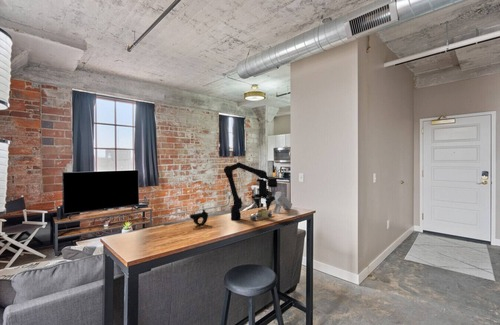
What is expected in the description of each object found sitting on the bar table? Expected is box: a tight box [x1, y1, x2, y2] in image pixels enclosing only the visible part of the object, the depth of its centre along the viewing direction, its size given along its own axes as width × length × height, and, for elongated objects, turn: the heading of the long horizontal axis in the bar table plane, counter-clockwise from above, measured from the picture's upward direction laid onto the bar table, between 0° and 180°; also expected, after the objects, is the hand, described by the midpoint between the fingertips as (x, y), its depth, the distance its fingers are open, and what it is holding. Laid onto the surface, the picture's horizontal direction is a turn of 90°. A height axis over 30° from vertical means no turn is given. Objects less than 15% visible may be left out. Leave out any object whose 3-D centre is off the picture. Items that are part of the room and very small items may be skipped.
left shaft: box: [249, 212, 259, 222], centre depth 176 cm, size 6×4×5 cm, turn 121°
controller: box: [189, 209, 209, 226], centre depth 164 cm, size 4×12×10 cm, turn 122°
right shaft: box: [268, 209, 273, 218], centre depth 186 cm, size 6×4×5 cm, turn 145°
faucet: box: [272, 191, 293, 214], centre depth 203 cm, size 6×16×20 cm
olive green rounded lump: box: [257, 208, 269, 220], centre depth 180 cm, size 6×4×6 cm, turn 133°
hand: (263, 208), depth 180 cm, fingers open, 9 cm apart
